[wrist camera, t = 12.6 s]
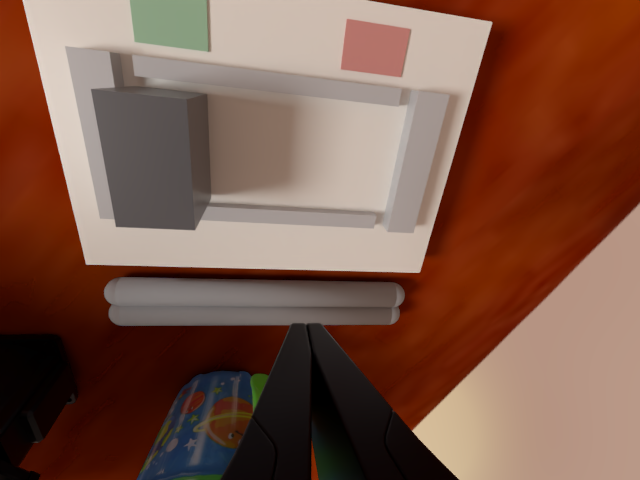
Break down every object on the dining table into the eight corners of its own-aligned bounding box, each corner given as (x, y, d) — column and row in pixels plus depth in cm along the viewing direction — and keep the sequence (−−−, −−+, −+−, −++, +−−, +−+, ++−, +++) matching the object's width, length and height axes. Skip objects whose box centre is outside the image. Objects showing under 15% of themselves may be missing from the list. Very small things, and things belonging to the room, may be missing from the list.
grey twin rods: (118, 313, 22) (106, 332, 20) (7, -227, 11) (-36, -276, 10) (392, 314, 25) (400, 329, 24) (502, -105, 15) (530, -126, 13)
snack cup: (226, 463, 31) (208, 620, 22) (118, 429, 27) (42, 605, 18) (332, 364, 27) (362, 508, 18) (223, 307, 23) (191, 456, 14)
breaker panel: (102, 247, 20) (76, 274, 17) (42, -44, 14) (-14, -73, 11) (408, 257, 23) (426, 281, 20) (469, 27, 17) (506, 18, 14)
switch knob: (149, 194, 16) (115, 226, 13) (136, 86, 14) (90, 89, 11) (211, 198, 17) (195, 230, 13) (207, 93, 15) (186, 99, 11)
